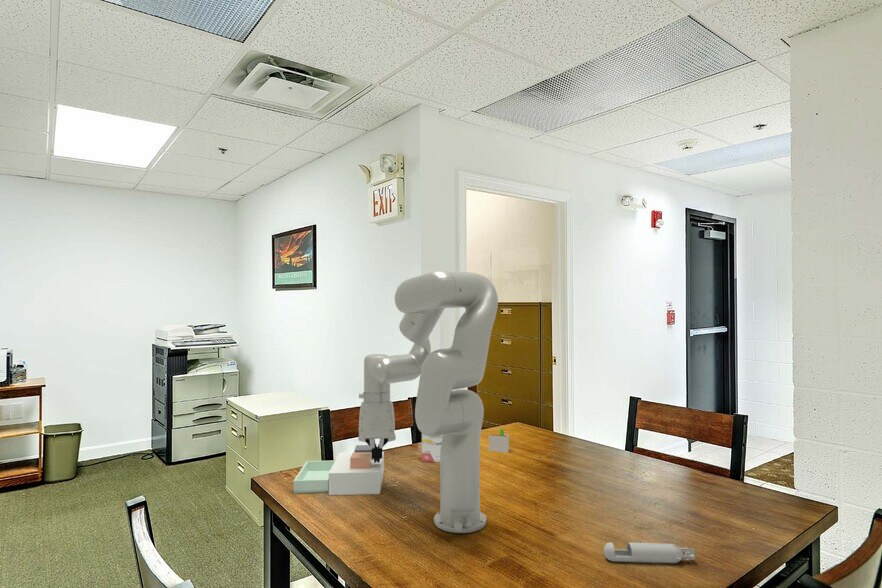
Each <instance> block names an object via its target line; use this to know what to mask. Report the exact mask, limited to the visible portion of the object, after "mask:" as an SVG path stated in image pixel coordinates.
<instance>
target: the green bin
mask: <svg viewBox="0 0 882 588" xmlns="http://www.w3.org/2000/svg"><path fill="white" fill-rule="evenodd" d="M335 460H336V459H333V460H307V461H305V463H304V464H303V466H302V467H301V469H300V470H299V472H298V473H297V474H296V477H295V478H294V479H293V494H323V493H324V494H326V493H328V494H329V472H330V470H331V468H332V466H333V464H334V462H335Z"/></svg>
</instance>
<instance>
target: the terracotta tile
mask: <svg viewBox="0 0 882 588" xmlns="http://www.w3.org/2000/svg"><path fill="white" fill-rule="evenodd" d="M353 452H354V451H353ZM371 463H372V452H354V453H352V455H351V458H350V469H370V466H371Z"/></svg>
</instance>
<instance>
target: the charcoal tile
mask: <svg viewBox="0 0 882 588" xmlns="http://www.w3.org/2000/svg"><path fill="white" fill-rule="evenodd" d="M353 452H372V448H371V447H370V446H369V445H368V444H363V445H362V444H360V445H359V444H358V445H357V444H356V445H355V448H354V451H353ZM372 460H373V459H372Z"/></svg>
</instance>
